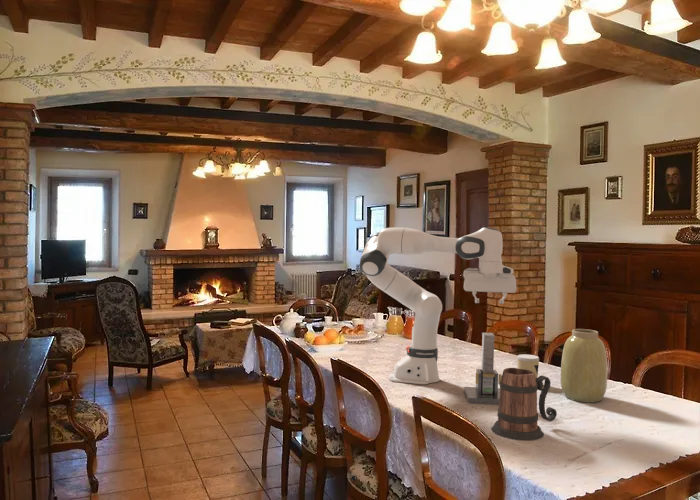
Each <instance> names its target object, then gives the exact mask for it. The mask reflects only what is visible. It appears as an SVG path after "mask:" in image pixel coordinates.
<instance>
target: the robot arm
mask: <svg viewBox="0 0 700 500" xmlns="http://www.w3.org/2000/svg"><path fill="white" fill-rule="evenodd" d="M503 246H504V244H503V235H502V232H501V231H500V230H498V229H497V228H493V227H487V226H484V227H482V228H480V229H478V230H477V231H475V232H471V233H470V234H467V235H463V236H461V237H448V236H447V237H446V236H437V235H433V234H430V233H429V232H425V231H422V230H420V229H415V228H410V227H401V226H399V227H384V228H383V229H381V230H380V232H375V233H373V234H372V235H371V236H370V237H369V238H368V241H367V242H366V244H365V246H364V248H363V251H362V255H361V256H360V260H359V268H360V270H361V272H362V273H363V274H364V275H366V278H367V279H368V280H369V281H370V282H371V284H373V285H374V286H375V287H376V288H378V289H379V290H381V291H382V292H383V293H385V294H387V295H388V296H390V297H391V298H392V299H394V300H396V301H397V302H399V303H400V304H402V305H403V306H405V307H406V308H408V309H410V310H411V311H413V312H414V314H415V316H414V322H413V327H412V329H411V346H410V345H407V346H406V347H405V350H406V355H405V356H403V357H402V358H401V359H400V360H398V361H397V362H396V363H395V365H394V368H393V371H392V372H390V373H389V374H388V380H390V381H391V382H396V383H406V384H415V385H428V384H432V383H437V382H440V380H441V379H440V375H439V369H438V368H439V367H438V360H439V359H438V358H439V351H438V350H439V349H438V347H437V345H438V327H439V323H440V317H441V313H442V311H443V303H442V300H441V299H440V298H439V296H437V295H436V294H434V293H432V292H430V291H427V290H426V288H423V287H421V286H420V285H419V284H417V283H416V282H414V281H413V280H412V279H410V278H409V277H408V276H406V275H405V274H403V273H402V272H400V271H399V270H397V269H395V267H392V266H391V265H390V264H389V263H388V260H389V258H390V257H389V256H391V254H392V255H393V254H395V255H404V256H405V255H406V256H409V255H410V256H415V255H422V254H428V253H432V252H440V253H449V254H450V253H451V254H452V253H453V254H456V255H458V257H460V258H461V259H464V260H474V259H477V258H478V267H467V268H465V269H464V270H463V274H462V275H463V279H464V280H463V281H464V282H463V290H464V291H465V292H472V296H473V297H474V303H475V304H480V298H477V296H476V295H477V292H482V293H502V298H499V299H498V300H499V305H504V304H505V300H506V297H507V296H508V293H510V294H515V293H516V292H517V279H516V276H515V275H514V274H515V273H514V272H515V271H514V269H513V268H512V267H509V266H507V265H505V264H504V265H503V259H502V253H503Z"/></svg>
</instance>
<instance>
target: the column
mask: <svg viewBox="0 0 700 500" xmlns="http://www.w3.org/2000/svg"><path fill="white" fill-rule="evenodd" d="M481 336H482V339H481V343H482V344H481V345H482V346H481V369H482V371H481V373H482V375H481V392H482V393H483V394H493V377H483V373H489V374H493V370H494V365H495V362H494V361H495V360H494V359H495V358H494V357H495V339H496V336H495V334H494V333H493V332H481Z"/></svg>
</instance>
